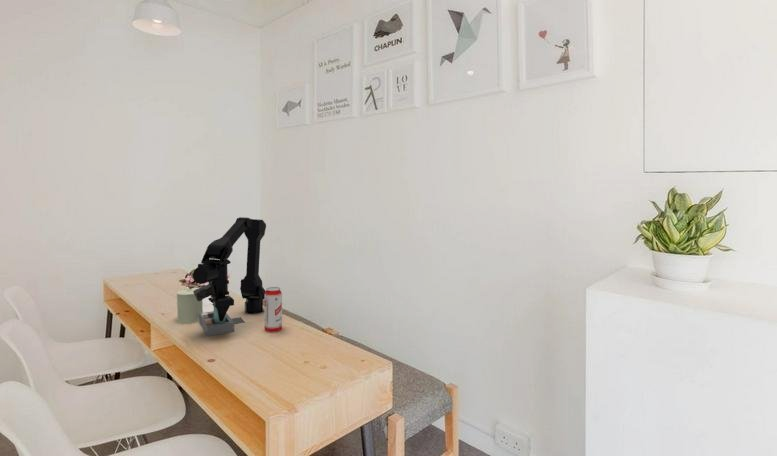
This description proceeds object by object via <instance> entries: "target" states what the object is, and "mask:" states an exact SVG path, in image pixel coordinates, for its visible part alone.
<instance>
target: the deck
mask: <svg viewBox="0 0 777 456" xmlns="http://www.w3.org/2000/svg"><path fill="white" fill-rule="evenodd" d="M231 319H232V321H233V322H234V325H238V324H244V323H246V322H245V320H244V319H243V318H242V317H241V316H239V317H234V318H231Z"/></svg>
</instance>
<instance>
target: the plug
mask: <svg viewBox="0 0 777 456" xmlns="http://www.w3.org/2000/svg"><path fill="white" fill-rule="evenodd" d="M213 311H214V324H218V323H224V322H226V315H225V317H224V319H223V321H219V317H218V312H217V308H216V307H214V306H213Z"/></svg>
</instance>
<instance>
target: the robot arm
mask: <svg viewBox="0 0 777 456" xmlns="http://www.w3.org/2000/svg"><path fill="white" fill-rule="evenodd" d="M266 229H267V223H266V222H265V221H264V220H263V219H257V218H256V219H255V218H254V219H253V218H250V217H244V216H243V217H241V216H240V217H237V218H236V220H235V222H234V223H233V224H232V225H231V226H230V227H229V229H227V231H226V232H225V233H224V234H223V236H222V237H220V238H218V239H217V238H216V239H215V240H213V241H212V242H211V243H209V245H208V246H207V247H206V249H205V252H204V254H203V257H202V259H201V261H200V262H201V263H198V264H197V267H196V268H195V269H194V270H193V273H192V278H193V281H194V282H195V283H197V284H199V285H203V286H201V287H199V288H195V289H196V290H194V291H193V293H194V295H195V297H196V299H197V301H201V300H202V301H203V300H204V299H206V298H208V300H209V302H211V304H212V306H213V308H214V307H216V308H217V312H218V317H219V321H223V319H224V317H225V315H226V313H227V312H228V311H229V308H230V307H231V306H232V307H233V306H235V299H234V298H233V297H232V296H231V295H230V291H229V290H228V287H229V284H230V281H229V280H228V278H229V277H228V265H229V264H231V262H232V261H231V260H229V258H230V257H231V254H232V252H234V251H233V247H234V245H235V243H236V242H237V241H238V240H239V239H240V238H241V237H242V235H243V234H244V235H245V238H246V240H247V251H246V252H247V254H246V273H245V276H244V277H243V278H241V279H240V287H239V290H240V293H241V297H242V299H245V301H244V312H245V313H247V314H248V315H252V314H260V313H265V310H264V302H263V301H264V300H265V292H266V288H265V289H264V287H263V280H262V279H261V278H262V277H260V271H259V270H260V253H261V241H262V239H263V237H264V236H265V234H266ZM206 283H208V284H206ZM205 284H206V285H205ZM227 314H228V313H227Z"/></svg>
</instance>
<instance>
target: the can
mask: <svg viewBox="0 0 777 456" xmlns="http://www.w3.org/2000/svg"><path fill="white" fill-rule="evenodd" d="M196 289H197V288H189V289H183V290H178V291H177V292H176V305H177V323H180V324H192V323H197V322H198V323H199V313H204V311H203V310H204V309H203V300H201V301H197V299H196V297H195V295H194V293H193V291H194V290H196Z"/></svg>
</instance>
